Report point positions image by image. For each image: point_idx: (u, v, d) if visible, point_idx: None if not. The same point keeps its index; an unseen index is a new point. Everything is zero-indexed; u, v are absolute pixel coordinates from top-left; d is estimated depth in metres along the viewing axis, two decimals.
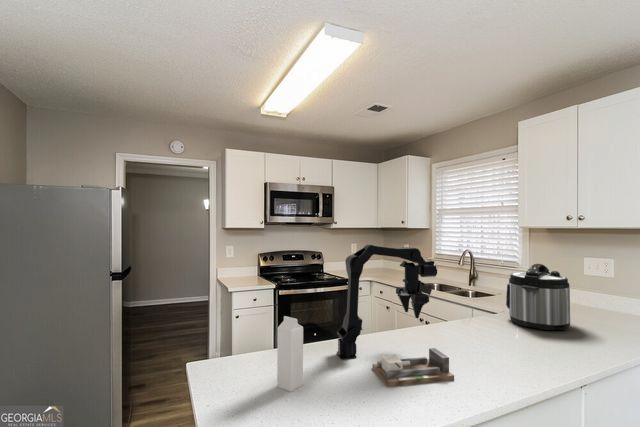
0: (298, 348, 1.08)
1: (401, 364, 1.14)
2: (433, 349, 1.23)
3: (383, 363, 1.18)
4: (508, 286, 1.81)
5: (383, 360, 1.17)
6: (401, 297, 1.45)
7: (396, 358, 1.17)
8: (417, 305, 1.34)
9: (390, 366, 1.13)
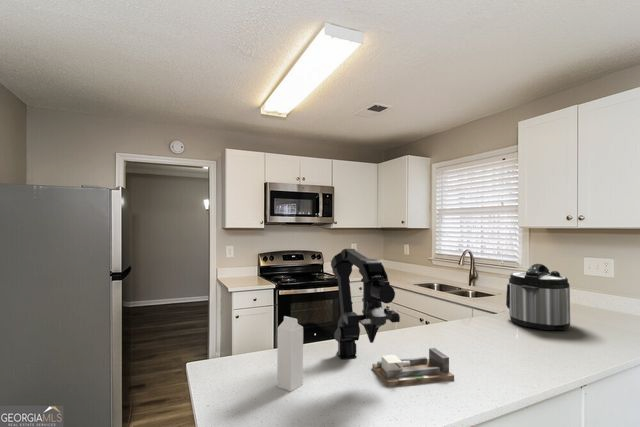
0: (298, 348, 1.08)
1: (401, 364, 1.14)
2: (433, 349, 1.23)
3: (383, 363, 1.18)
4: (508, 286, 1.81)
5: (383, 360, 1.17)
6: (371, 322, 1.18)
7: (396, 358, 1.17)
8: (367, 326, 1.15)
9: (390, 366, 1.13)
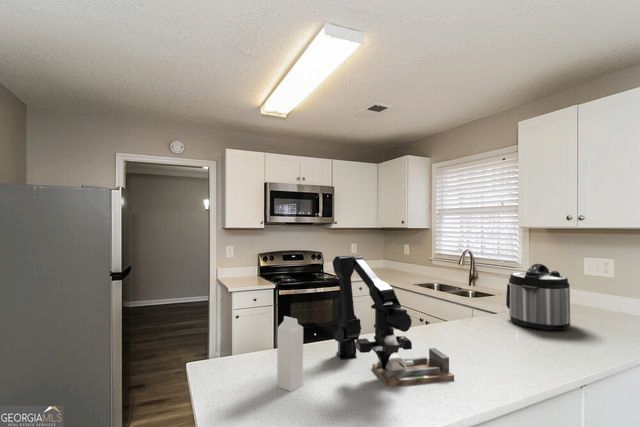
0: (298, 348, 1.08)
1: (405, 364, 1.14)
2: (433, 349, 1.23)
3: None
4: (508, 286, 1.81)
5: None
6: (382, 348, 1.18)
7: (400, 358, 1.17)
8: None
9: (394, 366, 1.13)
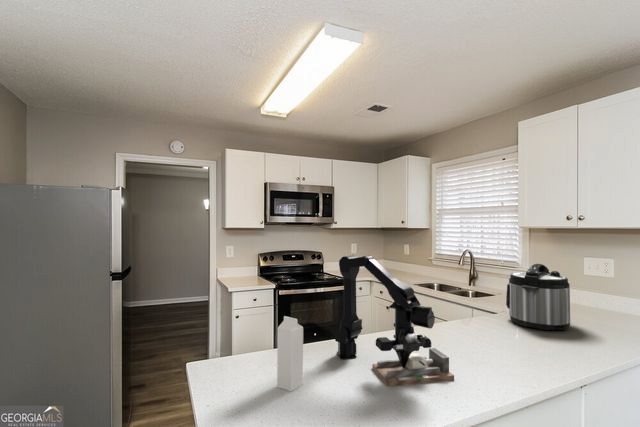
0: (298, 348, 1.08)
1: (425, 362, 1.16)
2: (433, 349, 1.23)
3: None
4: (508, 286, 1.81)
5: None
6: None
7: (419, 356, 1.19)
8: (399, 351, 1.17)
9: (414, 364, 1.15)
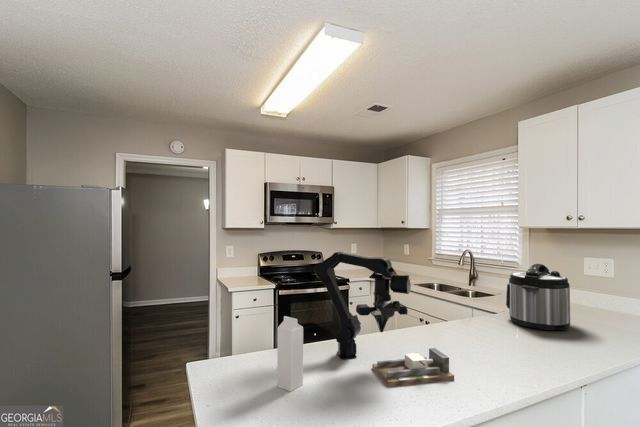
0: (298, 348, 1.08)
1: (425, 362, 1.16)
2: (433, 349, 1.23)
3: (406, 361, 1.19)
4: (508, 286, 1.81)
5: (406, 358, 1.19)
6: (381, 313, 1.30)
7: (419, 356, 1.19)
8: None
9: (415, 364, 1.15)
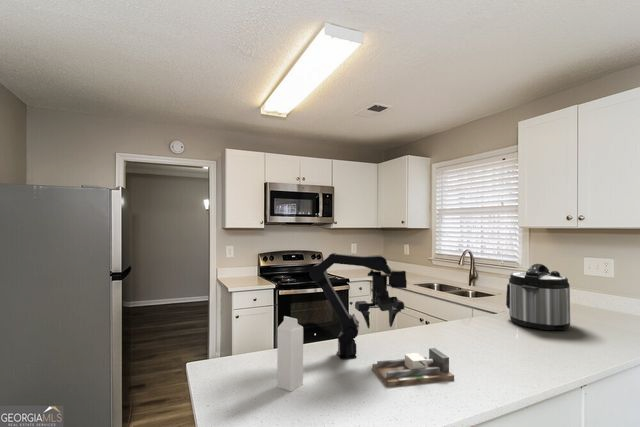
0: (298, 348, 1.08)
1: (425, 362, 1.16)
2: (433, 349, 1.23)
3: (406, 361, 1.19)
4: (508, 286, 1.81)
5: (406, 358, 1.19)
6: None
7: (419, 356, 1.19)
8: (365, 314, 1.31)
9: (415, 364, 1.15)
